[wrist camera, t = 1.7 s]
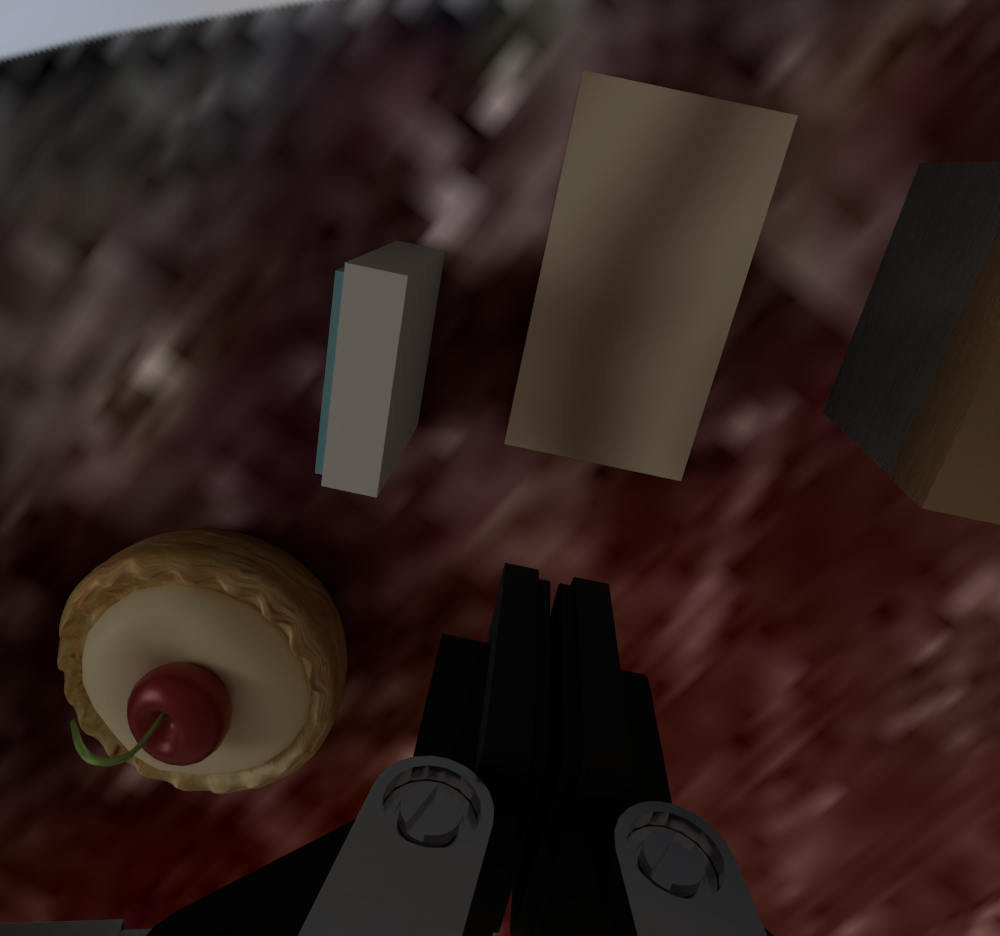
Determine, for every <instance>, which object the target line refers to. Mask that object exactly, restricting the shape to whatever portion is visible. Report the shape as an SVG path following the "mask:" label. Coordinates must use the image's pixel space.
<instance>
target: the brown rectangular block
mask: <svg viewBox="0 0 1000 936" xmlns="http://www.w3.org/2000/svg"><path fill="white" fill-rule="evenodd" d="M823 413H824V414H825V415H826V416H827V417H828V418H829V419H831V420H832V421H833V422H834V423H835V424H836V425H837V426H838V427H839V428H840V429H841V430H842V431H843V432H845V433H846V434H847V435H848V436H849V437H850V438H851V439H852V440H853V441H854V442H855V443H856V444H857V445H859V446H860V447H861V448H862V449H863V450H864V451H865V452H866V453H867V454H868V455H869V456H870V457H871V458H873V459H874V460H875V461H876V462H877V463H878V464H879V465H880V466H881V467H882V468H883V469H884V470H885V471H887V472H888V473H889V474H890V475H889V478H890V479H891V480H892V481H893V482H895V483H896V484H897V485H898V486H899V487H900V488H901V489H902V490H903V491H904V492H905V493H906V494H907V495H908V496H909V497H911V498H912V499H913V500H914V501H915V502H916V503H917V504H918V505H919V506H920V507H921V508H923V509H928V510H932V511H937V512H942V513H947V514H951V515H956V516H961V517H966V518H970V519H975V520H980V521H985V522H989V523H994V524H999V525H1000V162H969V163H920V164H919V166H918V169H917V171H916V174H915V177H914V179H913V182H912V184H911V187H910V189H909V192H908V195H907V197H906V200H905V202H904V205H903V207H902V210H901V213H900V215H899V218H898V220H897V223H896V226H895V228H894V231H893V233H892V236H891V238H890V241H889V244H888V246H887V249H886V251H885V254H884V256H883V259H882V262H881V264H880V267H879V269H878V272H877V274H876V277H875V280H874V282H873V285H872V287H871V290H870V292H869V295H868V298H867V300H866V303H865V305H864V308H863V310H862V313H861V316H860V318H859V321H858V323H857V326H856V328H855V331H854V334H853V336H852V339H851V341H850V344H849V346H848V349H847V352H846V354H845V357H844V359H843V362H842V364H841V367H840V370H839V372H838V375H837V377H836V380H835V382H834V385H833V388H832V390H831V393H830V395H829V398H828V400H827V403H826V406H825V408H824V411H823Z"/></svg>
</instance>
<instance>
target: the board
mask: <svg viewBox="0 0 1000 936" xmlns="http://www.w3.org/2000/svg"><path fill="white" fill-rule="evenodd" d="M797 117H798V115H793V114H788V113H783V112H779V111H774V110H769V109H764V108H760V107H755V106H750V105H745V104H741V103H736V102H731V101H726V100H722V99H717V98H712V97H707V96H703V95H698V94H693V93H689V92H684V91H679V90H674V89H670V88H665V87H660V86H655V85H651V84H646V83H641V82H636V81H632V80H627V79H622V78H617V77H613V76H608V75H603V74H598V73H594V72H589V71H584V70H583V72H582V77H581V82H580V86H579V91H578V96H577V101H576V105H575V110H574V115H573V120H572V124H571V129H570V134H569V139H568V143H567V148H566V153H565V158H564V162H563V167H562V172H561V177H560V181H559V186H558V191H557V196H556V200H555V205H554V210H553V215H552V219H551V224H550V229H549V234H548V238H547V243H546V248H545V253H544V257H543V262H542V267H541V272H540V276H539V281H538V286H537V291H536V295H535V300H534V305H533V310H532V314H531V319H530V324H529V329H528V333H527V338H526V343H525V348H524V352H523V357H522V362H521V367H520V371H519V376H518V381H517V386H516V390H515V395H514V400H513V405H512V410H511V414H510V419H509V424H508V429H507V433H506V438H505V443H504V444H507V445H512V446H517V447H521V448H526V449H531V450H536V451H540V452H545V453H550V454H554V455H559V456H564V457H569V458H573V459H578V460H583V461H588V462H592V463H597V464H602V465H607V466H611V467H616V468H621V469H626V470H630V471H635V472H640V473H645V474H649V475H654V476H659V477H664V478H668V479H673V480H678V481H681V479H682V476H683V473H684V470H685V467H686V464H687V461H688V458H689V454H690V451H691V448H692V445H693V442H694V439H695V436H696V433H697V429H698V426H699V423H700V420H701V417H702V414H703V411H704V408H705V404H706V401H707V398H708V395H709V392H710V389H711V386H712V383H713V380H714V376H715V373H716V370H717V367H718V364H719V361H720V358H721V355H722V351H723V348H724V345H725V342H726V339H727V336H728V333H729V330H730V326H731V323H732V320H733V317H734V314H735V311H736V308H737V305H738V301H739V298H740V295H741V292H742V289H743V286H744V283H745V280H746V276H747V273H748V270H749V267H750V264H751V261H752V258H753V255H754V251H755V248H756V245H757V242H758V239H759V236H760V233H761V230H762V226H763V223H764V220H765V217H766V214H767V211H768V208H769V205H770V201H771V198H772V195H773V192H774V189H775V186H776V183H777V180H778V176H779V173H780V170H781V167H782V164H783V161H784V158H785V155H786V152H787V148H788V145H789V142H790V139H791V136H792V133H793V130H794V127H795V123H796V120H797Z"/></svg>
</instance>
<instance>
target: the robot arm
mask: <svg viewBox="0 0 1000 936" xmlns="http://www.w3.org/2000/svg"><path fill="white" fill-rule="evenodd" d="M538 577H539V570H537V569H533V568H528V567H523V566H518V565H513V564H508V563H505V565H504V569H503V573H502V577H501V582H500V586H499V590H498V595H497V599H496V604H495V608H494V613H493V617H492V621H491V626H490V630H489V635H488V639H487V643H486V642H481V641H476V640H471V639H466V638H461V637H456V636H451V635H446V634H442V637H441V641H440V646H439V650H438V654H437V658H436V662H435V667H434V671H433V675H432V679H431V684H430V688H429V692H428V696H427V700H426V705H425V709H424V713H423V717H422V721H421V726H420V730H419V734H418V738H417V743H416V747H415V751H414V755H413V757H411V758H408V759H404V760H401V761H398V762H396V763H395V764H393V765H392V766H390V767H389V768H387V769H386V770H384V771H383V772H382V773H381V775H380V776H379V777H378V779H377V780H376V781H375V783H374V784H373V786H372V788H371V790H370V792H369V794H368V796H367V798H366V800H365V802H364V804H363V806H362V808H361V810H360V812H359V814H358V816H357V818H356V819H355V820H353V821H351V822H349V823H347V824H345V825H343V826H341V827H339V828H337V829H335V830H334V831H332V832H330V833H328V834H326V835H324V836H322V837H320V838H318V839H316V840H314V841H312V842H310V843H308V844H306V845H304V846H302V847H300V848H298V849H296V850H294V851H293V852H291V853H289V854H287V855H285V856H283V857H281V858H279V859H277V860H275V861H273V862H271V863H269V864H267V865H265V866H263V867H261V868H259V869H257V870H255V871H253V872H252V873H250V874H248V875H246V876H244V877H242V878H240V879H238V880H236V881H234V882H232V883H230V884H228V885H226V886H224V887H222V888H220V889H218V890H216V891H214V892H212V893H211V894H209V895H207V896H205V897H203V898H201V899H199V900H197V901H195V902H193V903H191V904H189V905H187V906H185V907H183V908H181V909H179V910H177V911H176V912H174V913H173V914H171V915H170V916H168V917H167V918H165V919H164V920H163V921H161V922H160V923H158V924H157V925H155V926H154V927H153V928H152V929H138V930H124V919H116V920H90V921H64V922H37V923H11V924H0V936H492V934H493V932H495V933H498V932H499V930H500V927H501V924H502V921H503V917H504V914H505V910H506V907H507V903H508V900H509V896H510V893H511V889H512V903H511V920H510V934H511V936H773V935H772V934H771V933H770V932H769V931H768V930H767V929H765V928H764V927H763V924H762V922H761V919H760V917H759V915H758V912H757V910H756V907H755V905H754V903H753V900H752V898H751V895H750V893H749V891H748V888H747V886H746V884H745V881H744V879H743V876H742V874H741V872H740V869H739V867H738V864H737V862H736V860H735V857H734V855H733V854H732V852H731V850H730V848H729V847H728V845H727V843H726V841H725V840H724V839H723V838H722V836H721V835H720V834H719V833H718V832H717V831H716V830H715V829H714V828H713V827H712V826H711V825H710V824H709V823H708V822H706V821H705V820H703V819H702V818H701V817H699V816H698V815H696V814H695V813H693V812H691V811H689V810H687V809H685V808H682V807H680V806H678V805H675V804H672V801H671V796H670V791H669V785H668V780H667V775H666V770H665V764H664V759H663V754H662V748H661V743H660V738H659V732H658V727H657V722H656V716H655V711H654V706H653V700H652V695H651V690H650V684H649V681H648V678H647V677H646V676H645V675H644V674H639V673H634V672H629V671H624V670H620V663H619V655H618V648H617V640H616V633H615V626H614V618H613V611H612V604H611V596H610V589H609V585H608V584H606V583H601V582H596V581H591V580H586V579H582V578H577V577H574V578H573V580H572V583H571V585H566V584H561V583H560V584H559V586H558V589H557V592H556V596H555V600H554V603H553V607H552V611H551V615H550V581H546V580H542V579H538Z"/></svg>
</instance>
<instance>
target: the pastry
mask: <svg viewBox="0 0 1000 936" xmlns="http://www.w3.org/2000/svg"><path fill="white" fill-rule="evenodd" d="M59 636H60V644H59V651H58V658H57V665H58V669H59V670H62V671H63V672H64V677H65V684H64V693H65V696H66V699H67V701H68V702H69V704H71V705H72V706H73V707H74V708H75V710H76V713H77V717H78V721H79V725H80V727H81V729H82V730H83V731H84V732H85V733H86V734H87V735H90V736H93V737H94V738H96V739H98V740H99V742H100V743H101V744H102V745H103V747H104V749H105V750H106V752H107V754H108V756H109V757H103V756H99V755H96V754H94V753H92V752H90V751H89V750H88V749H87V748H86V746H85V744H84V742H83V740H82V738H81V735H80V732H79V729H78V727H77V724H76V722H75V719H73V720H72V721H71V722H70V726H71V730H72V737H73V742H74V745H75V748H76V750H77V752H78V754H79V755H80V756H81V758H82V759H83V760H84V761H85V762H86V763H88V764H90V765H94V766H101V767H109V766H114V765H118V764H120V763H123V762H127V763H129V764H131V765H132V766H134V767H135V769H136V770H137V772H138V773H139V775H141V776H143V777H146V778H149V779H156V780H162V781H167V782H169V783H171V784H172V785H174V786H175V787H176V788H178V789H180V790H183V791H197V790H207V791H212V792H213V793H216V794H226V793H231V792H236V791H241V790H246V789H254V788H260V787H263V786H266V785H268V784H271V783H273V782H275V781H278V780H280V779H282V778H284V777H286V776H288V775H290V774H291V773H293V772H294V771H296V770H298V769H299V768H300V767H302V766H303V765H304V764H305V763H306V762H307V761H308V760H309V759H310V758H311V757H313V756H314V755H315V754H316V752H317V751H318V750H319V748H320V747H321V745H322V744H323V742H324V740H325V739H326V737H327V735H328V733H329V731H330V729H331V728H332V726H333V724H334V721H335V719H336V716H337V714H338V711H339V708H340V706H341V702H342V700H343V693H344V688H345V682H346V674H347V660H348V658H347V649H346V641H345V633H344V628H343V625H342V621H341V618H340V615H339V612H338V610H337V608H336V606H335V604H334V602H333V600H332V598H331V597H330V595H329V594H328V592H327V591H326V589H325V588H324V586H323V585H322V583H321V582H320V581H319V580H318V579H317V578H316V576H315V575H314V574H313V573H312V572H311V571H310V570H309V569H308V568H307V567H306V566H305V565H304V564H303V563H301V562H300V561H299V560H297V559H296V558H295V557H294V556H292V555H291V554H290V553H288V552H286V551H285V550H283V549H281V548H279V547H278V546H276V545H274V544H272V543H270V542H267V541H265V540H263V539H260V538H258V537H254V536H251V535H247V534H243V533H239V532H234V531H228V530H222V529H216V528H192V529H185V530H179V531H173V532H168V533H163V534H159V535H156V536H153V537H150V538H147V539H145V540H142V541H140V542H137V543H136V544H134V545H132V546H130V547H128V548H126V549H124V550H122V551H120V552H118V553H117V554H115V555H114V556H112V557H111V558H110V559H108V560H107V561H105V562H104V563H102V564H100V565H99V566H98V567H96V568H95V569H94V570H93V571H92V572H90V573H89V574H88V575H87V576H86V577H85V578H84V579H83V580H82V581H81V582H80V583H79V584H78V585H77V587H76V588H75V589H74V591H73V592H72V593H71V595H70V596H69V599H68V601H67V603H66V606H65V608H64V610H63V613H62V616H61V621H60V626H59Z"/></svg>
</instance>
